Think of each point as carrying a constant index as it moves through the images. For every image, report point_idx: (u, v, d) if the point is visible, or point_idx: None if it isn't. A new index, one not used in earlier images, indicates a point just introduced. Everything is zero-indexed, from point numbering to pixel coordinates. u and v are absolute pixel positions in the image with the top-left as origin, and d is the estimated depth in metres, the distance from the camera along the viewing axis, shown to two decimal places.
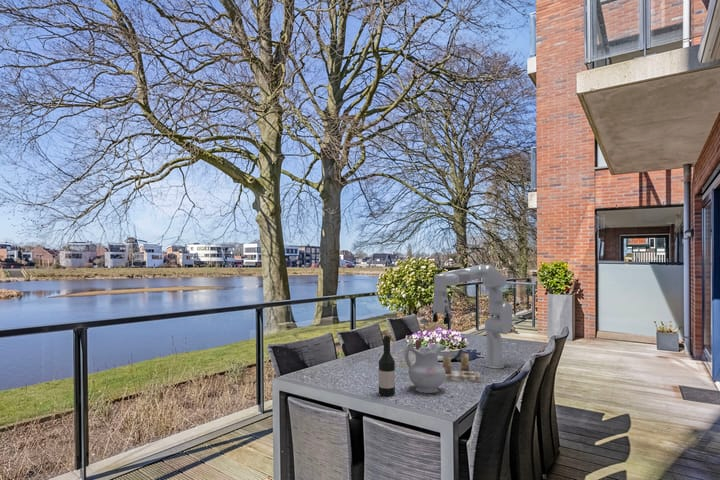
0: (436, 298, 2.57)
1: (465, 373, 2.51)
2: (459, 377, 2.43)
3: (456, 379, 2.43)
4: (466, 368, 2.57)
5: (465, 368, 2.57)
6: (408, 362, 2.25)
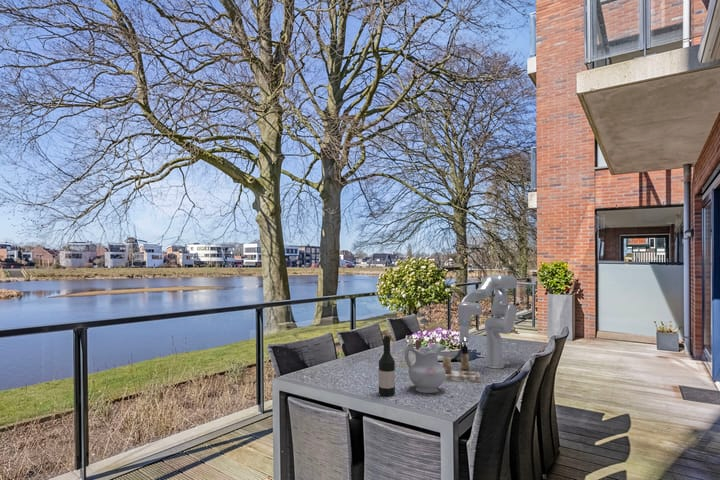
0: None
1: (465, 373, 2.51)
2: (459, 377, 2.43)
3: (456, 379, 2.43)
4: (466, 368, 2.57)
5: (465, 368, 2.57)
6: (408, 362, 2.25)
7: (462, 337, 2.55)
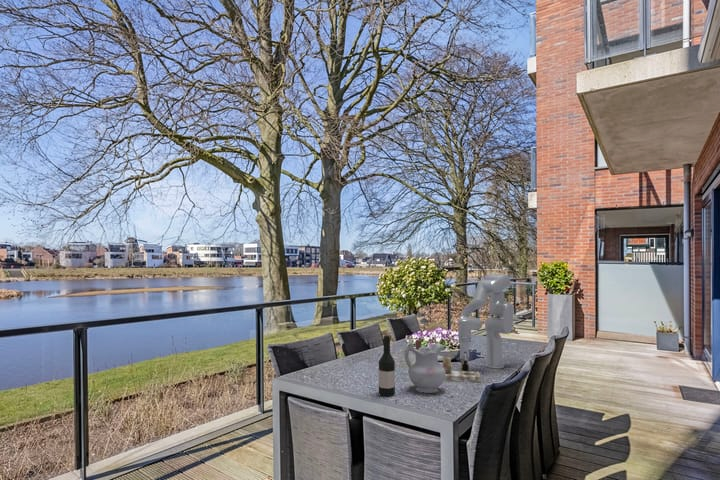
0: None
1: (465, 373, 2.51)
2: (459, 377, 2.43)
3: (456, 379, 2.43)
4: None
5: None
6: (408, 362, 2.25)
7: (463, 353, 2.55)
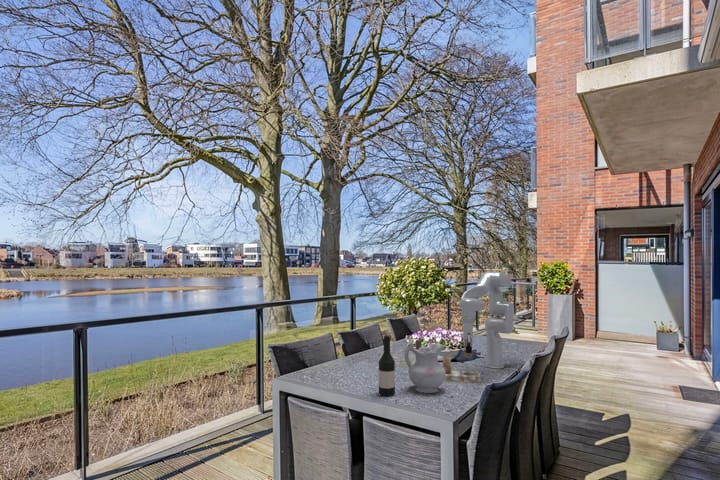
0: None
1: (465, 373, 2.51)
2: (459, 377, 2.43)
3: (456, 379, 2.43)
4: None
5: None
6: (408, 362, 2.25)
7: (466, 334, 2.44)
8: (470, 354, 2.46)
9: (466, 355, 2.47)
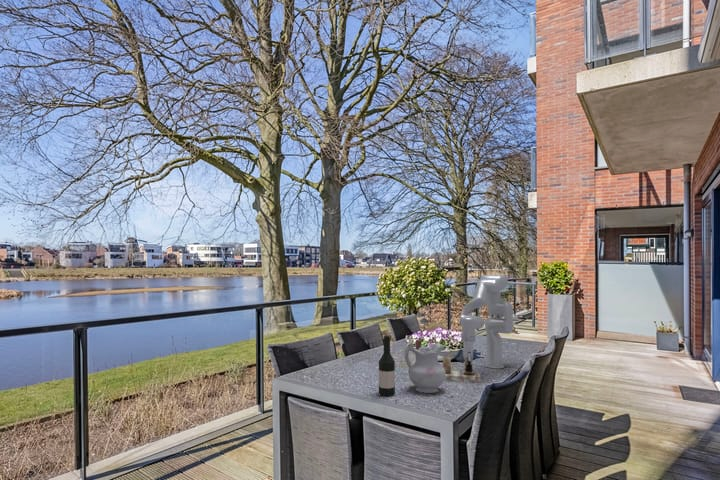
0: None
1: None
2: (459, 377, 2.43)
3: (456, 379, 2.43)
4: None
5: None
6: (408, 362, 2.25)
7: (466, 353, 2.44)
8: (470, 372, 2.46)
9: (466, 373, 2.46)
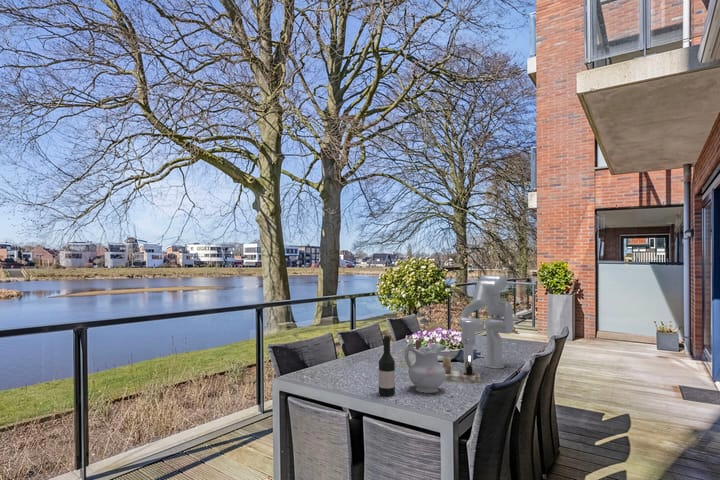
0: None
1: None
2: (459, 377, 2.43)
3: (456, 379, 2.43)
4: None
5: None
6: (408, 362, 2.25)
7: (466, 356, 2.44)
8: None
9: None
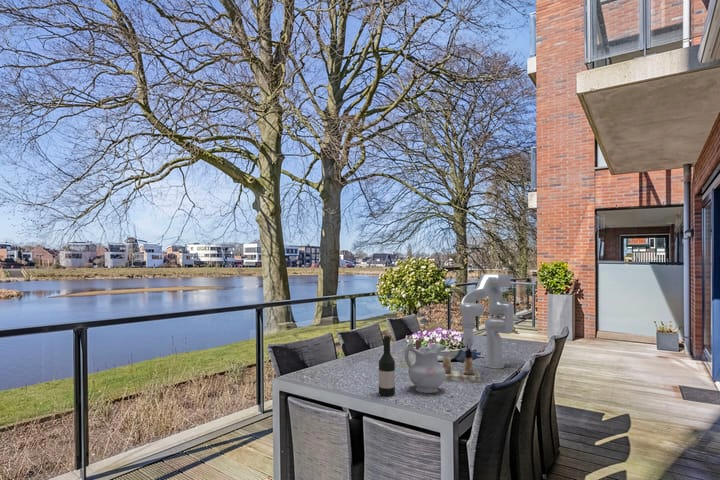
0: None
1: None
2: (459, 377, 2.43)
3: (456, 379, 2.43)
4: (470, 373, 2.46)
5: (469, 373, 2.46)
6: (408, 362, 2.25)
7: (466, 340, 2.44)
8: None
9: None
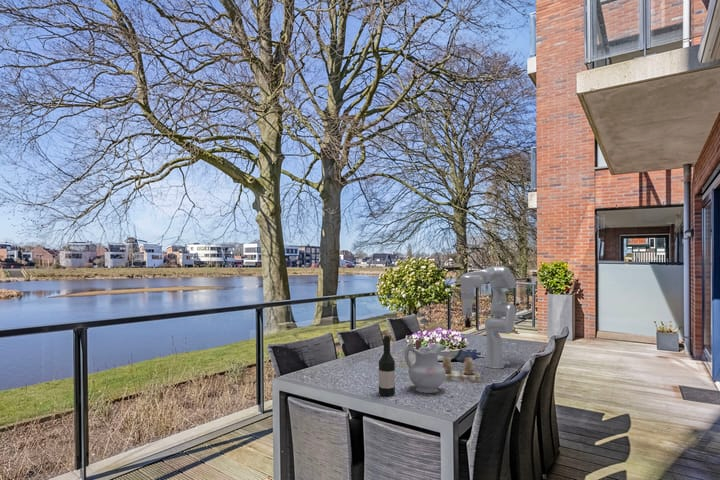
0: None
1: None
2: (459, 377, 2.43)
3: (456, 379, 2.43)
4: (470, 373, 2.46)
5: (469, 373, 2.46)
6: (408, 362, 2.25)
7: (465, 310, 2.50)
8: None
9: None
